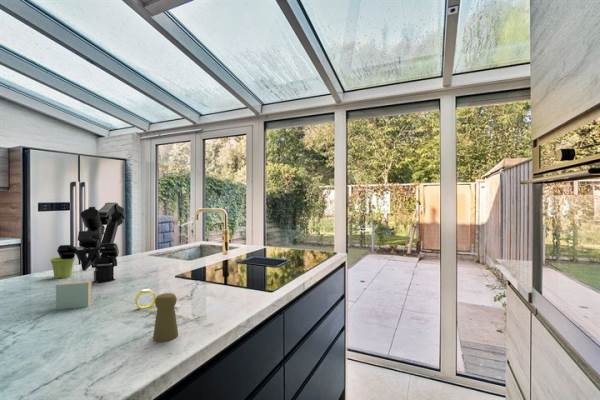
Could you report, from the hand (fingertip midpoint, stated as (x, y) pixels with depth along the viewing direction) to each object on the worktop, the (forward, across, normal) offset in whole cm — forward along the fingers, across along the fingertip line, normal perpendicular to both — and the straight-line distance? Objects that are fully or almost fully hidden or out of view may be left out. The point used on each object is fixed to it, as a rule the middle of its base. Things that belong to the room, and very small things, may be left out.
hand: (83, 270), depth 110 cm
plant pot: (-20, -20, +34) cm, 45 cm away
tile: (+14, 0, +1) cm, 14 cm away
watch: (+20, +23, -5) cm, 30 cm away
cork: (+38, +31, -22) cm, 54 cm away
